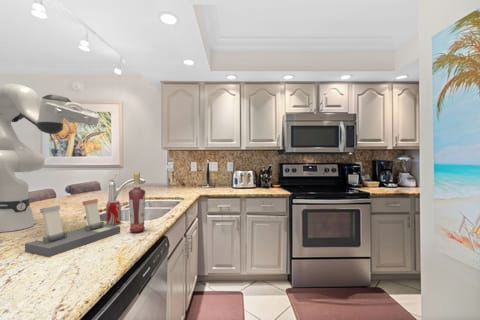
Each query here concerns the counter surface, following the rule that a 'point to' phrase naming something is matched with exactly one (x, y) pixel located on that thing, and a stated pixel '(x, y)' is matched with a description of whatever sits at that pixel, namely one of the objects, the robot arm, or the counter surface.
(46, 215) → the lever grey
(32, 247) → the switch board
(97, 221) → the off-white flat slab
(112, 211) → the soda can
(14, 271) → the counter surface
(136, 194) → the liquor
